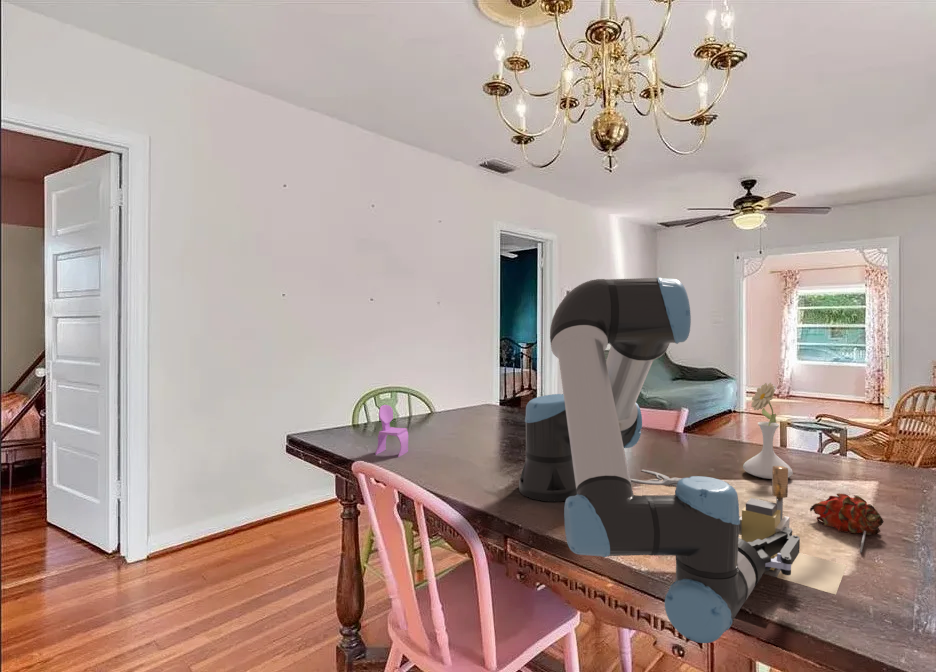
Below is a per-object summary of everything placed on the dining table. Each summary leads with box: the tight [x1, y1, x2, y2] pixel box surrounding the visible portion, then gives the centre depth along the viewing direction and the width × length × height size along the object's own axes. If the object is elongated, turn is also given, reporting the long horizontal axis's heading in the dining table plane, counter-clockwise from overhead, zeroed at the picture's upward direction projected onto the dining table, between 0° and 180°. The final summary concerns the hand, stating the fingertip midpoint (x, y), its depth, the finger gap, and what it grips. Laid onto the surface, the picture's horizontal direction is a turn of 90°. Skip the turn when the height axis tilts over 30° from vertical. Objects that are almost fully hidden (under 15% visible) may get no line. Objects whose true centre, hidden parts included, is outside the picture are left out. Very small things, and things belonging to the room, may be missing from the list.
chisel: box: [771, 466, 789, 522], centre depth 96 cm, size 2×2×15 cm
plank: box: [739, 536, 847, 596], centre depth 97 cm, size 32×12×1 cm, turn 48°
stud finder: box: [740, 497, 781, 571], centre depth 91 cm, size 5×4×10 cm
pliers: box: [630, 469, 683, 487], centre depth 137 cm, size 10×2×15 cm
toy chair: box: [374, 404, 409, 458], centre depth 166 cm, size 8×9×15 cm
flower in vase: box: [742, 382, 794, 480], centre depth 138 cm, size 13×11×25 cm
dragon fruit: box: [809, 492, 884, 536], centre depth 105 cm, size 8×8×12 cm
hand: (768, 519), depth 95 cm, fingers closed on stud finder, 5 cm apart
